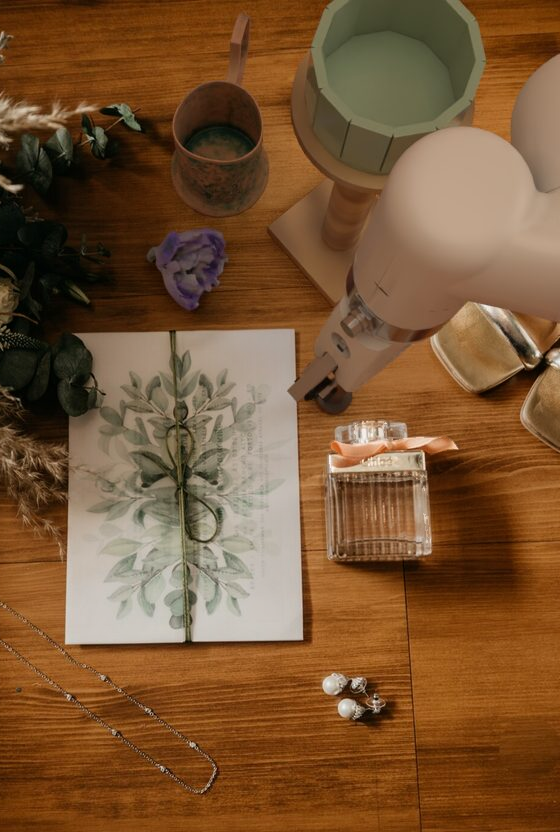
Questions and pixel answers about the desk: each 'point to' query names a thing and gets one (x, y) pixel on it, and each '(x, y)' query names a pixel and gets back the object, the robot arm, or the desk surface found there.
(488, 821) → the desk surface
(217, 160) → the mug
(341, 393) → the dark brown stemmed peg
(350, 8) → the bowl
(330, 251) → the stand
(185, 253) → the flower
